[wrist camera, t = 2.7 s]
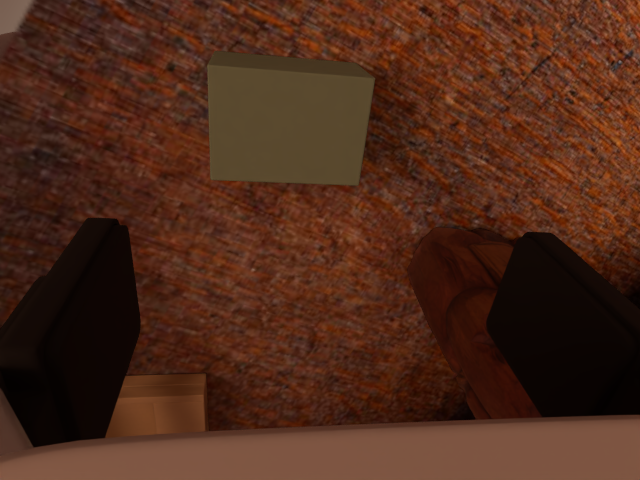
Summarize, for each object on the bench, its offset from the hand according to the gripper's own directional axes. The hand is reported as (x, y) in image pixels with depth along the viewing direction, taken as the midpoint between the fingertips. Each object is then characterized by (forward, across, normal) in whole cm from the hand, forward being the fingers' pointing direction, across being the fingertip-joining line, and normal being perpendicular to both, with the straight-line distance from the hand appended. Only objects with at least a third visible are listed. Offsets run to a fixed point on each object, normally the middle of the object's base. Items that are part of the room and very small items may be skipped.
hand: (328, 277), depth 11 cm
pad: (+15, 0, 0) cm, 15 cm away
